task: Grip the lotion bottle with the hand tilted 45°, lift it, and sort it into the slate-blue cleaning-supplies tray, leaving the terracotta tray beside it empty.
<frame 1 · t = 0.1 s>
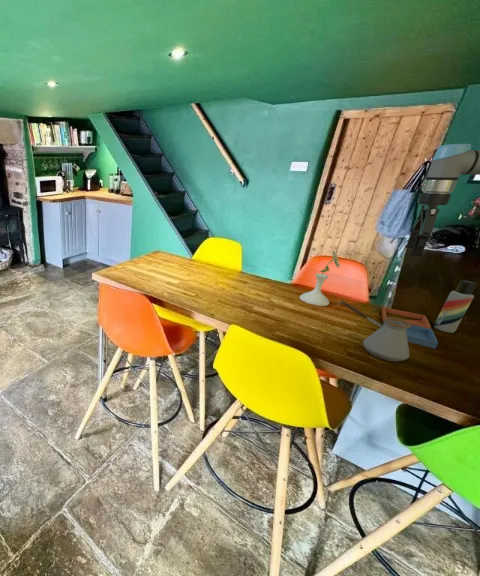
hand: (412, 251, 113), 29 cm above the worktop, tool pointing down, fingers open, 13 cm apart
terracotta tray: (402, 321, 122), on the worktop
flower in vase: (313, 303, 139), on the worktop
lotion bottle: (443, 329, 116), on the worktop
blue tray: (407, 335, 112), on the worktop
coffee pot: (363, 349, 103), on the worktop
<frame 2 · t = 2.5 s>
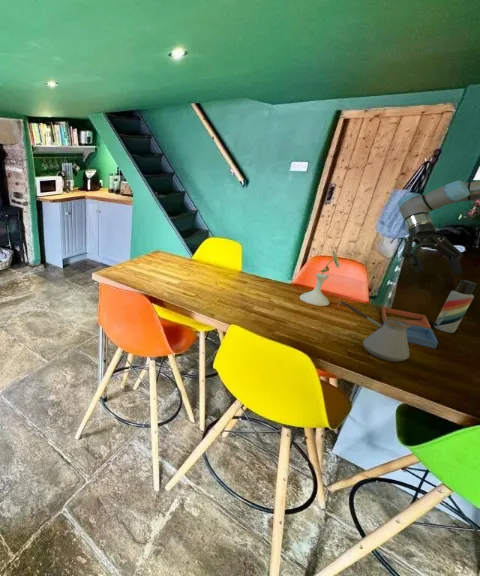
hand: (438, 272, 118), 20 cm above the worktop, tool tilted 45°, fingers open, 13 cm apart
nothing on the worktop moved.
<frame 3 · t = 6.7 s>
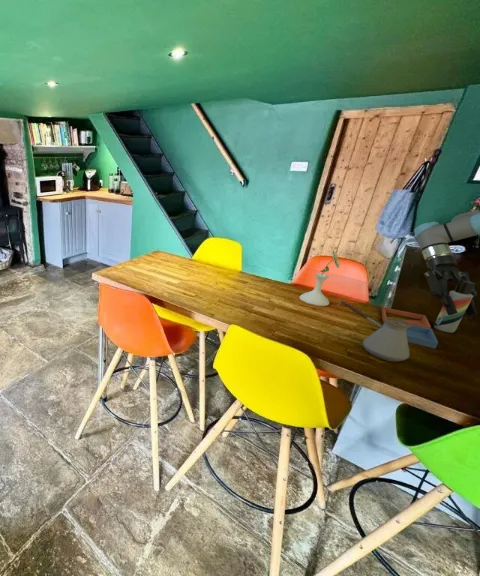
hand: (462, 314, 109), 8 cm above the worktop, tool tilted 45°, fingers closed on lotion bottle, 6 cm apart
lotion bottle: (443, 329, 116), on the worktop, touching gripper
everything else where it was.
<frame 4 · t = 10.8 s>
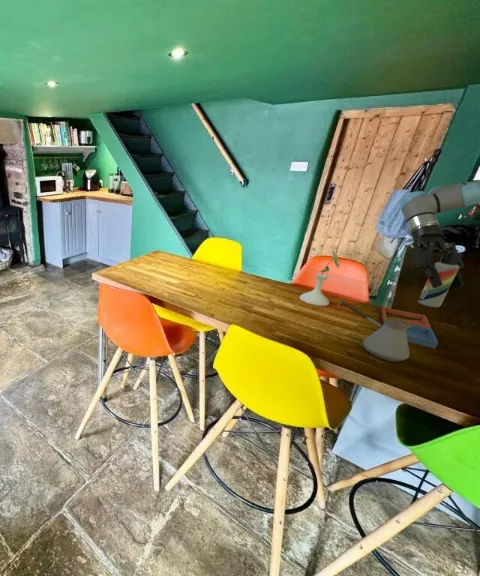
hand: (448, 286, 102), 21 cm above the worktop, tool tilted 45°, fingers closed on lotion bottle, 6 cm apart
lotion bottle: (428, 304, 109), point 12 cm above the worktop, touching gripper
everything else where it was.
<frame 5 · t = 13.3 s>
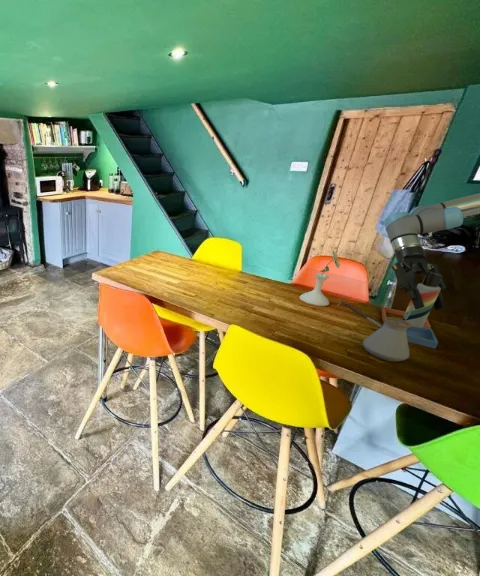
hand: (430, 308, 104), 13 cm above the worktop, tool tilted 45°, fingers closed on lotion bottle, 6 cm apart
lotion bottle: (411, 324, 110), point 5 cm above the worktop, touching gripper
everything else where it was.
when the fingers open (9 cm above the worktop, at t = 14.9 s): lotion bottle stays where it is, resting on blue tray.
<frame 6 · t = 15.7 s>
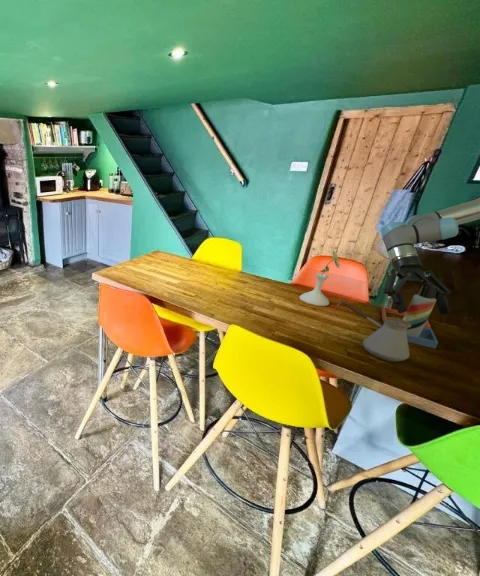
hand: (424, 312, 106), 11 cm above the worktop, tool tilted 45°, fingers open, 13 cm apart
lotion bottle: (407, 334, 112), resting on blue tray
everything else where it was.
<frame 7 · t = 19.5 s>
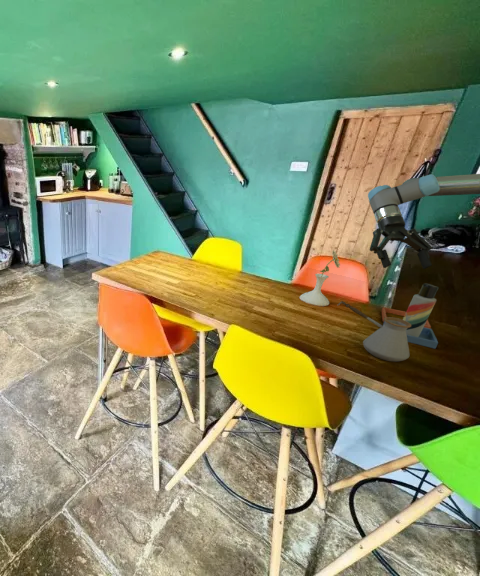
hand: (407, 266, 113), 24 cm above the worktop, tool tilted 45°, fingers open, 13 cm apart
nothing on the worktop moved.
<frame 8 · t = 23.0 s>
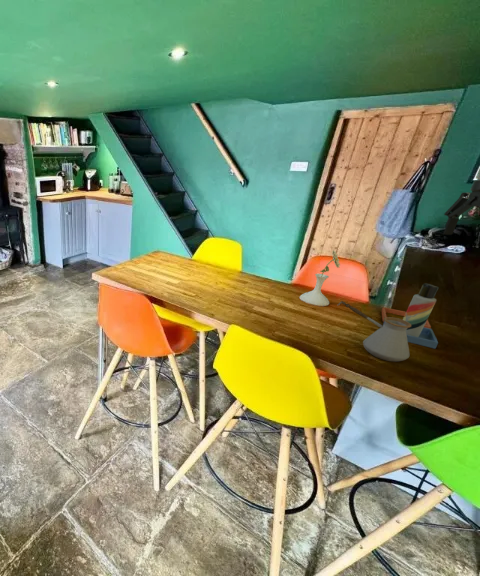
hand: (464, 238, 116), 33 cm above the worktop, tool pointing down, fingers open, 13 cm apart
nothing on the worktop moved.
at the end: lotion bottle inside the target area in the blue tray (0.1 cm from its centre), point 0.4 cm above the blue tray's base; lotion bottle tilted 0°; lotion bottle touching blue tray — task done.
